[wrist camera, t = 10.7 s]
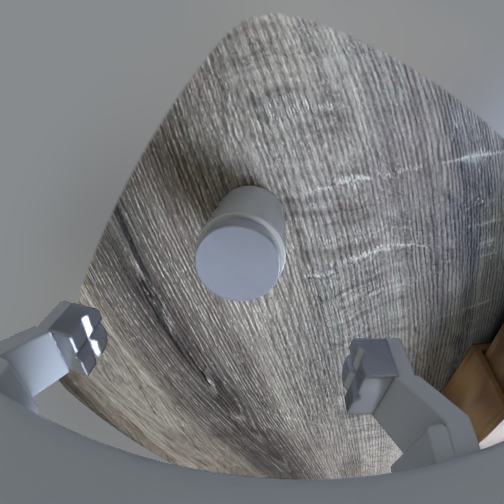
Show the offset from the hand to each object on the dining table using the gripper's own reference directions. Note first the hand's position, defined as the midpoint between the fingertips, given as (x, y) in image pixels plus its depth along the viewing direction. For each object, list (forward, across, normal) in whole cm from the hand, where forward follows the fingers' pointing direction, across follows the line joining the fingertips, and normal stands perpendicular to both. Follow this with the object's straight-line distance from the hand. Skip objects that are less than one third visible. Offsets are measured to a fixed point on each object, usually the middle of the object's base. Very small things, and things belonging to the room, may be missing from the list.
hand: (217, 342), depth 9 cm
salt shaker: (+10, 0, 0) cm, 10 cm away
